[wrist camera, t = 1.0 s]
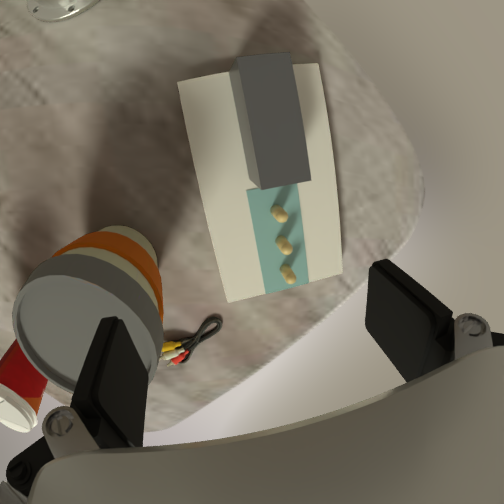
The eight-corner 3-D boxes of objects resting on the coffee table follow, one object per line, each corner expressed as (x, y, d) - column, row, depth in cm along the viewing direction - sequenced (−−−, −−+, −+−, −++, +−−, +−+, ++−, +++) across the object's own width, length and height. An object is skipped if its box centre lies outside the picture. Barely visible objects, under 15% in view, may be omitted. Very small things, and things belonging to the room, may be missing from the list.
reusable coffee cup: (53, 244, 29) (-14, 313, 15) (135, 187, 29) (84, 235, 15) (112, 323, 34) (83, 415, 20) (193, 281, 34) (195, 376, 20)
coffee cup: (35, 358, 34) (2, 430, 21) (12, 315, 31) (-34, 384, 17) (76, 358, 35) (48, 439, 22) (53, 311, 32) (8, 392, 18)
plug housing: (228, 72, 24) (236, 57, 18) (271, 67, 24) (289, 51, 19) (249, 178, 28) (261, 190, 23) (290, 171, 29) (311, 180, 23)
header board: (178, 85, 25) (174, 76, 21) (311, 66, 26) (330, 57, 22) (226, 293, 35) (230, 318, 31) (335, 266, 36) (353, 285, 32)
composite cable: (215, 311, 36) (217, 323, 34) (233, 336, 38) (235, 348, 36) (151, 341, 36) (149, 353, 34) (171, 363, 38) (171, 375, 36)
